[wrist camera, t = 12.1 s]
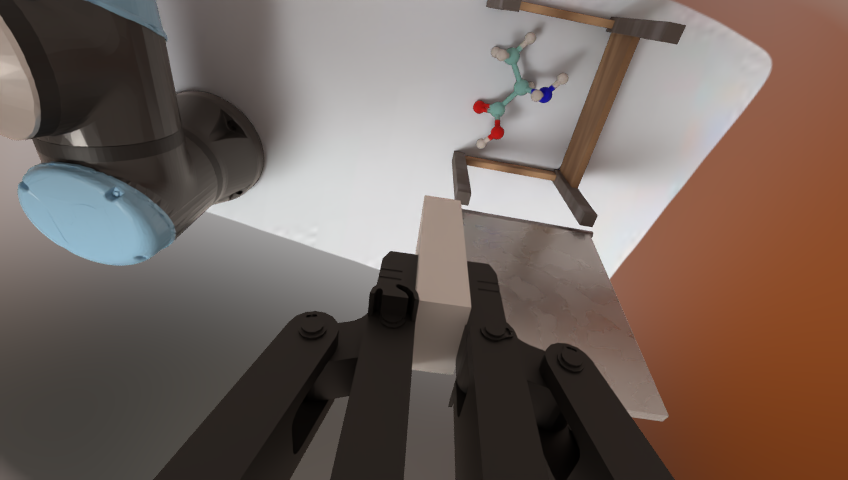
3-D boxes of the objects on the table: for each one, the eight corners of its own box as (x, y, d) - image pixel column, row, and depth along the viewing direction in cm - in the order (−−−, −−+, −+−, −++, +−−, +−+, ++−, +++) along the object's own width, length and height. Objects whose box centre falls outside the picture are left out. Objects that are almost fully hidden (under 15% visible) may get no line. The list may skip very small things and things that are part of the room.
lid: (454, 206, 43) (453, 211, 44) (455, 385, 27) (452, 391, 27) (591, 230, 44) (588, 235, 45) (675, 417, 28) (668, 422, 28)
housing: (451, 161, 55) (455, 203, 43) (489, -9, 44) (507, -13, 33) (561, 180, 56) (592, 227, 44) (623, 19, 45) (686, 25, 34)
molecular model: (456, 34, 44) (510, 70, 38) (523, 19, 47) (583, 50, 41) (450, 125, 52) (494, 165, 46) (508, 107, 55) (556, 143, 49)
